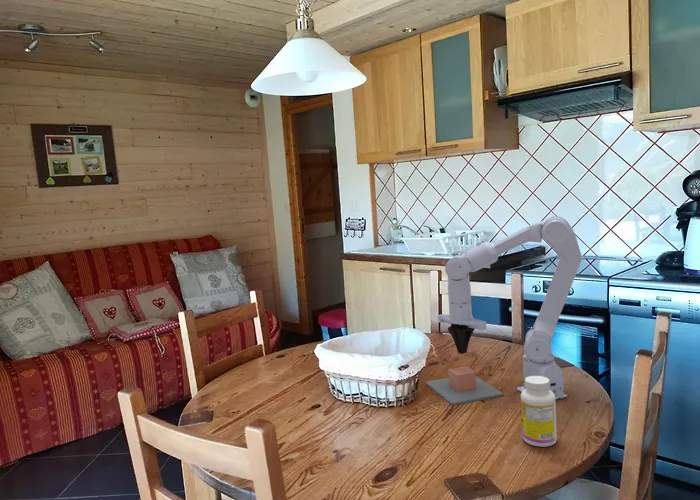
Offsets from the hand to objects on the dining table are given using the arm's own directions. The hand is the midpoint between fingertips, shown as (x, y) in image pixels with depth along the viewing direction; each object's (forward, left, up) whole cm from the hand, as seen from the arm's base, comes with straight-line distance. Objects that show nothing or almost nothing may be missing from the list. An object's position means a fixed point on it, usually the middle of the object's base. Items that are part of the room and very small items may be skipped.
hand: (462, 352), depth 135 cm
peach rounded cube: (-1, +1, -9) cm, 9 cm away
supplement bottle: (-32, 0, -10) cm, 34 cm away
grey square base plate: (-1, +1, -9) cm, 10 cm away
